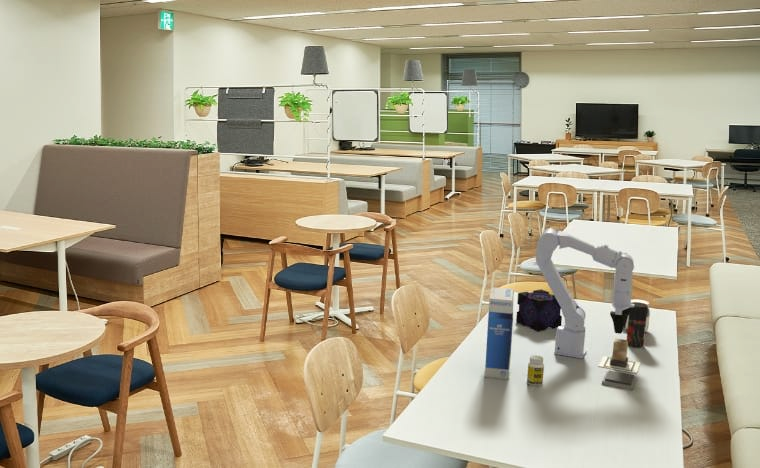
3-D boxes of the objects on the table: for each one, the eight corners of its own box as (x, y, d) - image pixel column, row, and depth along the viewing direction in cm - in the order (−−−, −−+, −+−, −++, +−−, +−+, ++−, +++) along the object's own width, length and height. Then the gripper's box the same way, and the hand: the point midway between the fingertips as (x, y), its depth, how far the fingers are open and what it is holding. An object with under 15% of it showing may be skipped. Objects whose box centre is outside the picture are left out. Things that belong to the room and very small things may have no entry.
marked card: (598, 366, 236) (598, 365, 236) (603, 356, 245) (603, 355, 245) (636, 373, 231) (636, 372, 231) (640, 363, 240) (640, 362, 240)
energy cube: (561, 327, 275) (563, 297, 273) (537, 331, 269) (539, 301, 267) (539, 318, 285) (541, 289, 283) (516, 322, 279) (518, 292, 277)
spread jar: (643, 337, 266) (646, 307, 263) (612, 331, 272) (615, 301, 269) (651, 328, 276) (654, 299, 273) (621, 323, 282) (624, 294, 279)
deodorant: (644, 348, 254) (648, 307, 251) (627, 346, 255) (631, 306, 252) (642, 342, 260) (646, 302, 257) (625, 341, 261) (628, 301, 258)
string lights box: (487, 362, 238) (491, 286, 232) (510, 364, 236) (515, 288, 231) (484, 377, 225) (488, 298, 220) (509, 380, 223) (514, 300, 218)
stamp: (609, 365, 237) (611, 342, 235) (612, 360, 241) (614, 337, 240) (625, 368, 235) (627, 344, 233) (627, 363, 239) (629, 340, 238)
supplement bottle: (533, 387, 218) (535, 361, 217) (523, 381, 222) (525, 356, 221) (545, 384, 220) (547, 358, 219) (535, 379, 224) (537, 353, 223)
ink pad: (601, 384, 222) (602, 378, 221) (606, 374, 230) (607, 369, 229) (632, 389, 218) (632, 384, 218) (636, 379, 226) (636, 374, 226)
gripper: (632, 297, 230) (629, 337, 233) (638, 286, 243) (635, 325, 246) (609, 294, 233) (607, 334, 236) (616, 284, 246) (613, 322, 249)
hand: (619, 329), depth 241 cm, fingers open, 7 cm apart
